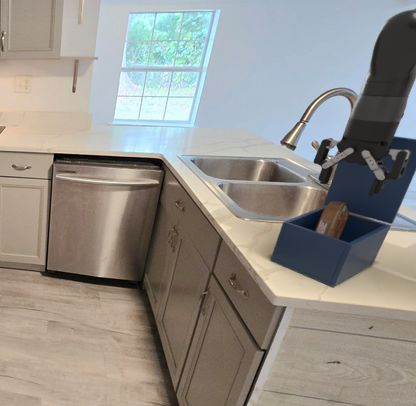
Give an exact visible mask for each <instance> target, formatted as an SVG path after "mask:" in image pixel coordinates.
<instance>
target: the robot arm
mask: <svg viewBox="0 0 416 406" xmlns="http://www.w3.org/2000/svg"><path fill="white" fill-rule="evenodd" d="M415 82H416V7H415V8H414V9H408V10H403V11H401V12H399V13H396V14H394V15H393V16H391V17H389V18H388V19H387V20H386V21H384V23H383V24H382V25H381V27H380V28H379V29H378V32H377V34H376V37H375V40H374V44H373V48H372V52H371V57H370V62H369V68H368V71H367V73H366V76H365V77H364V80H363V82H362V85H361V88H360V91H359V93H358V96H357V97H356V100H355V102H354V103H353V106H352V109H351V111H350V114H349V118H348V120H347V123H346V126H345V129H344V131H343V134H342V138H340V140H336V139H334V138H332V137H329V138H325V139H322V140H321V142H320V144H319V147H318V149H317V152H316V154H315V156H314V159H313V164H315V165H317V166H319V167H320V168H321V170H320V173H319V175H318V178H317V180H318V182H319V184H320V185H326V184H328V183H329V182H330V178H331V176H332V173H333V170H334V167H335V166H337V164H338V163H339V162H341V161H343V160H344V161H346V162H347V163H356V164H359V165H363V166H365V165H369V167H370V169H371V170H372V171H373V172H374V174H375V175H376V177H377V179H374V182H373V184H372V186H371V189H370V191H369V194H368V195H370V196H374V195H376V194H379V193H381V192H382V191H383V188H384V186H385V184H386V181H387V180H388V179H393V180H395V179H398V178H401V177H402V176H403V175H404V172H405V169H406V166H407V163H408V160H409V157H410V154H411V151H410V150H408V149H406V150H396V149H391V142H392V140H393V138H394V136H396V133H397V130H398V128H399V126H400V123H401V120H402V119H403V117H404V116H405V111H406V108H407V105H408V100H409V97H410V94H411V92H412V89H413V87H414V84H415ZM335 147H336V148H337V150H338V152H339V153H338V154H337V155H335V156H334V157H332V158H330V159H329V160H327V157H328V155H329V152H330V150H332V149H334V148H335ZM389 154H390V155H391V156H392V159H393V160H395V162H394V165H393V168H392V171H391V173H389V172H388V170H387V168H386V164H385V163H384V161H383V159H382V158H383V157H385V156H387V155H389ZM379 162H380V163H379Z"/></svg>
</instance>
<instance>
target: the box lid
mask: <svg viewBox="0 0 416 406" xmlns="http://www.w3.org/2000/svg"><path fill="white" fill-rule="evenodd" d="M391 149H396V150H406V149H408V150H410V151H411V154H410V157H409V160H408V163H407V166H406V169H405V172H404V175H403V176H402V177H401V178H398V179H395V180H393V179H388V180H387V181H386V184H385V186H384V188H383V191H382V192H381V193H379V194H376V195H374V196H370V195H368V194H369V191H370V189H371V186H372V184H373V182H374V179H377V177H376V175H375V174H374V172H373V171H372V170H371V169H370V167H369V165H365V166H363V165H359V164H356V163H347V162H346V161H344V160H343V161H341V162H339V163H337V164H336V165H335V166H336V167H335V170H334V173H333V175H332V179H331V182H330V185H329V187H328V191H327V194H326V197H325V199H324V202H323V206H325V207H326V206H327V205H328V204H329V203H330V202H333V201H337V202H342V203H348V204H349V213H350V214H353V215H357V216H360V217H364V218H367V219H371V220H375V221H378V222H382V223H385V224H389V225H392V224H394V223H395V222H394V221H395V219H396V218H397V215H398V213H399V210H400V208H401V206H402V203H403V202H404V199H405V197H406V195H407V192H408V190H409V187H410V185H411V183H412V181H413V179H414V176H415V174H416V138H412V137H403V136H397V135H394V138H393V140H392V142H391ZM382 159H383V161H384V163H385V164H386V168H387V170H388V172H389V173H391V171H392V168H393V165H394V162H395V160H393V159H392V156H391V155H390V154H389V155H387V156H385V157H383V158H382ZM379 163H380V162H379Z"/></svg>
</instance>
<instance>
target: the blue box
mask: <svg viewBox="0 0 416 406" xmlns="http://www.w3.org/2000/svg"><path fill="white" fill-rule="evenodd" d="M325 207H326V205H323V206H321V207H318V208H316V209H315V208H314V209H313V210H310V211H308V212H305V213H302V214H300V215H298V216H295V217H293V218H290V219H287V220H285V221H283V222H282V225H281V228H280V231H279V232H278V233H279V234H278V237H277V239H276V242H275V245H274V248H273V251H272V254H271V257H270V259H269V260H270V261H271V262H272V263H275V264H277V265H280V266H282V267H284V268H286V269H289V270H291V271H294V272H296V273H298V274H300V275H303V276H304V277H308V278H310V279H313V280H314V281H317V282H319V283H322V284H324V285H326V286H328V287H331V288H335V287H337V286H339V285H340V284H342V283H344V282H346V281H347V280H349V279H351V278H353V277H354V276H357V275H358V274H360V273H362V272H363V271H365V270H366V269H368V268H371V266H373V265H374V262H375V261H376V258H377V256H378V255H379V252H380V250H381V248H382V246H383V243H384V241H385V239H386V237H387V235H388V233H389V231H390V229H391V227H392V224H389V223H385V222H382V221H378V220H375V219H371V218H368V217H364V216H361V215H357V214H354V213H349V214H348V218H347V221H346V223H345V226H344V228H343V230H342V233H341V235H340V238H339V239H336V238H333V237H330V236H327V235H324V234H321V233H318V232H315V229H316V227H317V224H318V222H319V219H320V217H321V215H322V213H323V211H324V209H325Z"/></svg>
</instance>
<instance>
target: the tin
mask: <svg viewBox="0 0 416 406" xmlns="http://www.w3.org/2000/svg"><path fill="white" fill-rule="evenodd" d="M348 214H350V212H349V204H348V203H342V202H337V201H333V202H330V203H329V204H328V205H327V206H326V205H325V209H324V211H323V213H322V215H321V217H320V219H319V222H318V224H317V227H316V229H315V232H318V233H321V234H324V235H327V236H330V237H333V238H336V239H339V238H340V235H341V233H342V230H343V228H344V226H345V223H346V221H347V218H348Z"/></svg>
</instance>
